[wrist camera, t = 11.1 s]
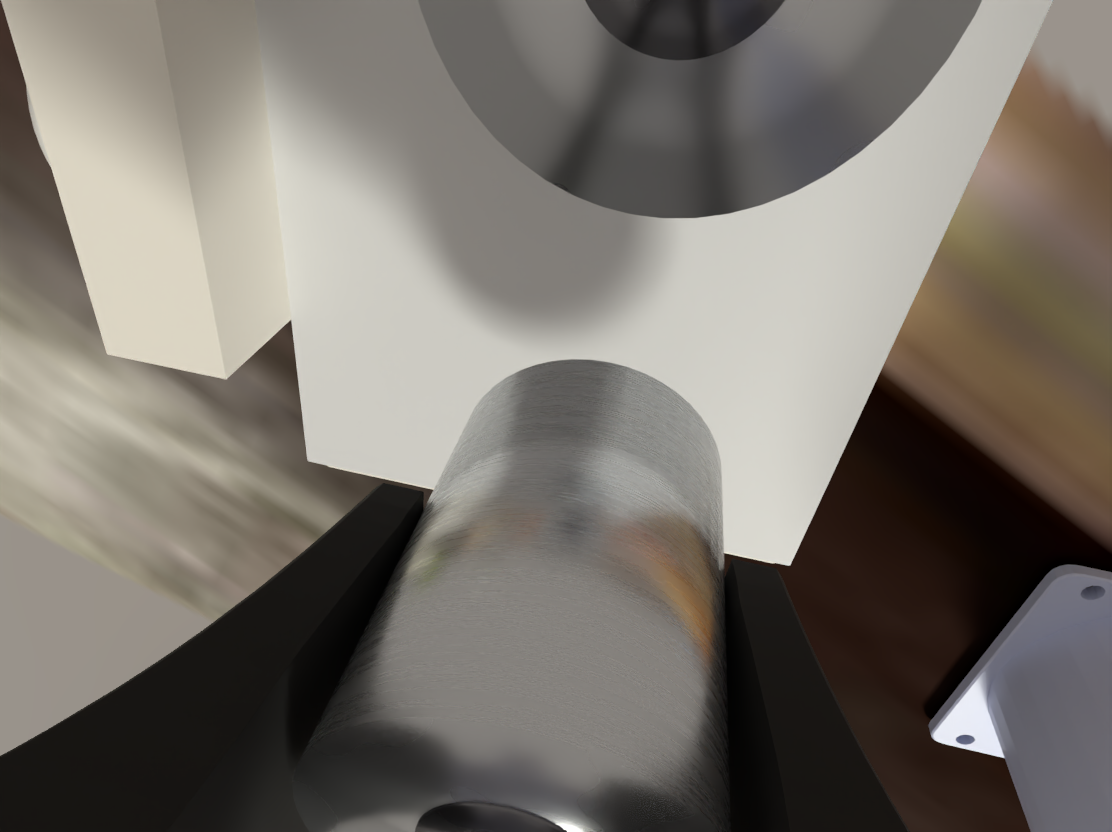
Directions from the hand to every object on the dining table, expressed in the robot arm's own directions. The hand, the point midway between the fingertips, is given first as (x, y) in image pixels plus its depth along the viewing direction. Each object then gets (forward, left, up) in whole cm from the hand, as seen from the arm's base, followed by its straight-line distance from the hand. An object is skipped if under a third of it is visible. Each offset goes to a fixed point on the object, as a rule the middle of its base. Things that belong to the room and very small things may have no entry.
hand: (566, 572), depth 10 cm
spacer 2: (0, 0, -2) cm, 2 cm away
